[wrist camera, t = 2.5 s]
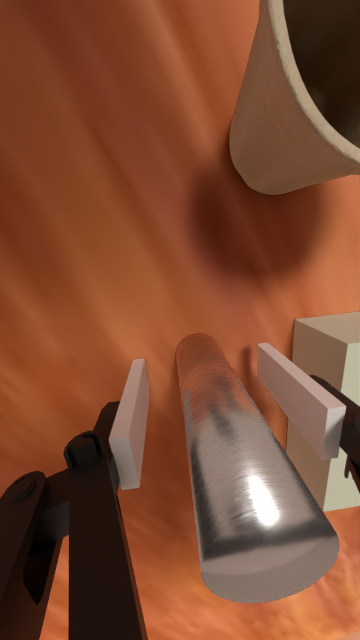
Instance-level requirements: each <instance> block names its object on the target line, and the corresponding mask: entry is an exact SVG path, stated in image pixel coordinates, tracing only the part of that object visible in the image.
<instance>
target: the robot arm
mask: <svg viewBox="0 0 360 640" xmlns="http://www.w3.org/2000/svg"><path fill="white" fill-rule="evenodd" d="M257 378H258V380H259V381H260V382H261V384H262V385H263V386H264V387H265V389H266V390H267V391H268V393H269V394H270V395H271V396H272V398H273V399H274V400H275V401H276V403H277V404H278V405H279V407H280V408H281V409H282V410H283V412H284V413H285V414H286V416H287V417H288V418H289V419H290V421H291V422H292V423H293V425H294V426H295V427H296V428H297V430H298V431H299V432H300V433H301V435H302V436H303V437H304V439H305V440H306V441H307V442H308V444H309V445H310V446H311V448H312V449H313V450H314V451H315V453H316V454H317V455H318V457H319V458H320V459H321V460H326V459H333V458H338V455H339V449H340V448H341V449H342V450H343V451H344V452H345V453H346V454H347V459H346V464H345V470H344V476H345V478H348V476H349V471H350V472H351V475H352V477H353V478H352V479H353V480H354V482H355V484H356V487H357V489H358V491H359V494H360V406H358V405H357V404H356V403H354V402H353V401H352V400H350V399H349V398H348V397H347V396H345V395H344V394H343V393H341V392H340V391H338V390H337V389H336V388H335V387H333V386H332V385H331V384H329V383H328V382H327V381H325V380H324V379H322V378H320V377H317V376H315V375H307V374H306V373H305V372H303V371H302V370H301V369H300V368H298V367H297V366H296V365H295V364H293V363H292V362H291V361H290V360H288V359H287V358H286V357H285V356H283V355H282V354H281V353H280V352H279V351H277V350H276V349H275V348H274V347H272V346H271V345H270V344H269V343H261V344H257ZM149 397H150V388H149V383H148V377H147V371H146V365H145V359H144V358H141V359H133V362H132V366H131V369H130V372H129V375H128V378H127V382H126V385H125V388H124V391H123V395H122V398H121V401H117V402H109V403H108V404H107V405H106V406H105V407H104V408H103V409H102V410H101V413H100V415H99V419H98V420H97V422H96V426H95V427H94V430H93V431H87V432H83V433H81V434H79V435H77V436H76V437H74V438H73V439H72V440H71V441H70V442H69V443H68V444H67V446H66V447H65V450H64V453H63V454H64V457H65V460H66V463H67V466H68V468H67V469H65V470H63V471H61V472H59V473H56V474H54V475H52V476H49V477H47V478H46V477H45V475H44V473H43V472H40V471H34V472H30V473H28V474H25V475H23V476H22V477H20V478H19V479H17V480H16V481H15V482H14V483H13V484H11V485H10V486H9V487H8V488H7V490H6V491H5V493H4V494H3V495H2V497H1V499H0V640H39V638H40V634H41V630H42V625H43V621H44V617H45V613H46V608H47V604H48V600H49V596H50V591H51V587H52V583H53V579H54V574H55V570H56V566H57V562H58V557H59V553H60V549H61V545H62V540H63V537H65V536H67V535H69V640H148V637H147V632H146V627H145V623H144V618H143V613H142V608H141V604H140V599H139V594H138V589H137V585H136V580H135V575H134V571H133V566H132V561H131V556H130V552H129V547H128V542H127V537H126V533H125V528H124V523H123V518H122V514H121V509H120V504H119V499H118V496H117V491H118V486H119V482H120V486H121V490H127V489H134V488H140V480H141V470H142V461H143V452H144V443H145V434H146V424H147V415H148V406H149Z"/></svg>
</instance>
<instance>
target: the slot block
mask: <svg viewBox="0 0 360 640" xmlns="http://www.w3.org/2000/svg"><path fill="white" fill-rule="evenodd" d="M292 363H293V364H295V365H296V366H297V367H298V368H300V369H301V370H302V371H303V372H305V373H306V374H307V375H315V376H317V377H320V378H322V379H324V380H325V381H327V382H328V383H329V384H331V385H332V386H333V387H335V388H336V389H337V390H338V391H340V392H341V393H343V394H344V395H345V396H347V397H348V398H349V399H350V400H352V401H353V402H354V403H356V404H357V405H358V406H360V311H359V312H351V313H343V314H334V315H326V316H318V317H310V318H302V319H295V321H294V337H293V352H292ZM286 453H287V455H288V457H289V458H290V460H291V461H292V463H293V465H294V466H295V468H296V469H297V471H298V473H299V474H300V476H301V477H302V479H303V480H304V482H305V484H306V485H307V487H308V488H309V490H310V492H311V493H312V495H313V496H314V498H315V500H316V501H317V503H318V504H319V506H320V508H321V509H322V511H323V512H324V511H330V510H337V509H343V508H349V507H355V506H360V494H359V491H358V489H357V487H356V484H355V482H354V480H353V479H352V478H353V477H352V475H351V472H350V471H349V476H348V478H345V476H344V470H345V464H346V459H347V454H346V453H345V452H344V451H343V450H342V449H341V448H340V449H339V455H338V458H333V459H326V460H321V459H320V458H319V457H318V455H317V454H316V453H315V451H314V450H313V449H312V448H311V446H310V445H309V444H308V442H307V441H306V440H305V439H304V437H303V436H302V435H301V433H300V432H299V431H298V430H297V428H296V427H295V426H294V425H293V423H292V422H291V421H290V419H289V418H288V431H287V446H286Z"/></svg>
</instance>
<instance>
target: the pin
mask: <svg viewBox="0 0 360 640" xmlns="http://www.w3.org/2000/svg"><path fill="white" fill-rule="evenodd" d="M176 362H177V371H178V379H179V388H180V396H181V405H182V413H183V422H184V430H185V439H186V447H187V456H188V464H189V473H190V482H191V490H192V499H193V507H194V516H195V524H196V533H197V541H198V550H199V558H200V567H201V575H202V579H203V581H204V583H205V585H206V586H207V588H208V589H209V590H210V591H211V592H212V593H214V594H215V595H217V596H219V597H221V598H223V599H226V600H229V601H234V602H240V603H262V602H269V601H274V600H278V599H282V598H285V597H288V596H291V595H293V594H296V593H298V592H300V591H302V590H304V589H306V588H307V587H309V586H311V585H312V584H314V583H315V582H316V581H318V580H319V579H320V578H321V577H323V576H324V575H325V574H326V573H327V572H328V570H329V569H330V568H331V567H332V565H333V564H334V562H335V560H336V558H337V555H338V552H339V539H338V536H337V534H336V532H335V530H334V529H333V527H332V526H331V524H330V522H329V521H328V519H327V518H326V516H325V514H324V513H323V511H322V510H321V508H320V506H319V505H318V503H317V502H316V500H315V499H314V497H313V495H312V494H311V492H310V491H309V489H308V487H307V486H306V484H305V483H304V481H303V479H302V478H301V476H300V475H299V473H298V471H297V470H296V468H295V467H294V465H293V463H292V462H291V460H290V459H289V457H288V455H287V454H286V452H285V451H284V449H283V448H282V446H281V444H280V443H279V441H278V440H277V438H276V436H275V435H274V433H273V432H272V430H271V428H270V427H269V425H268V424H267V422H266V420H265V419H264V417H263V416H262V414H261V412H260V411H259V409H258V408H257V406H256V404H255V403H254V401H253V400H252V398H251V397H250V395H249V393H248V392H247V390H246V389H245V387H244V385H243V384H242V382H241V381H240V379H239V377H238V376H237V374H236V373H235V371H234V369H233V368H232V366H231V365H230V363H229V361H228V360H227V358H226V357H225V355H224V353H223V352H222V350H221V349H220V347H219V346H218V344H217V342H216V341H215V340H214V339H213V338H212V337H210V336H208V335H206V334H200V333H198V334H192V335H189V336H187V337H186V338H184V339H183V340H182V341H181V342H180V343H179V345H178V347H177V350H176Z"/></svg>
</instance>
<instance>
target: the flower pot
mask: <svg viewBox="0 0 360 640" xmlns="http://www.w3.org/2000/svg"><path fill="white" fill-rule="evenodd" d="M229 146H230V154H231V159H232V162H233V165H234V167H235V168H236V170H237V171H238V173H239V174H240V175H241V177H242V178H243V180H244V181H245V183H246V184H247V185H248V186H249V187H250V188H252V189H253V190H255V191H257V192H260V193H263V194H267V195H279V194H284V193H288V192H290V191H294V190H297V189H300V188H303V187H307V186H311V185H314V184H318V183H322V182H325V181H329V180H333V179H337V178H340V177H344V176H348V175H351V174H353V175H360V0H260V3H259V21H258V25H257V28H256V32H255V36H254V40H253V44H252V48H251V52H250V55H249V59H248V63H247V67H246V71H245V75H244V78H243V82H242V86H241V89H240V93H239V97H238V100H237V104H236V108H235V112H234V115H233V118H232V122H231V127H230V135H229Z"/></svg>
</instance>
